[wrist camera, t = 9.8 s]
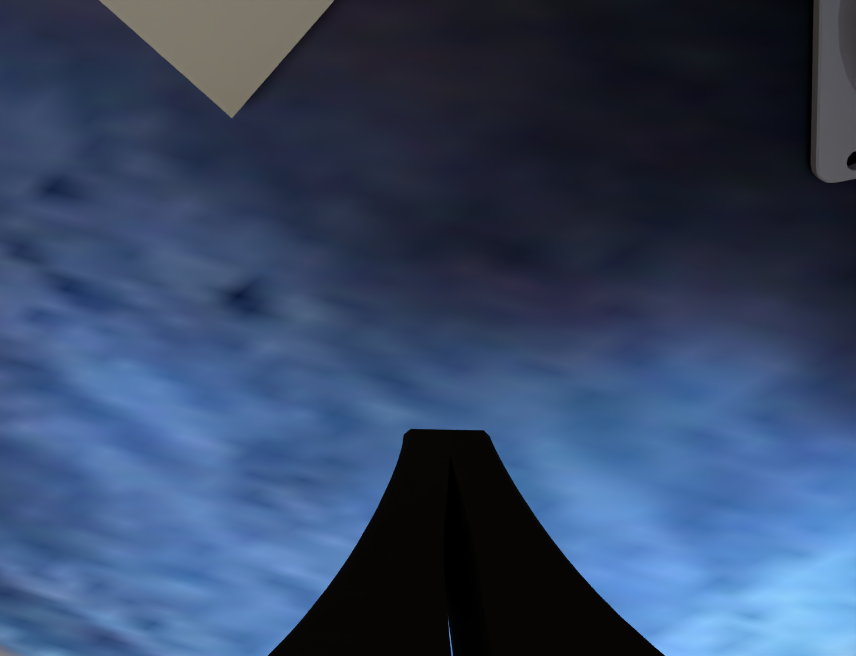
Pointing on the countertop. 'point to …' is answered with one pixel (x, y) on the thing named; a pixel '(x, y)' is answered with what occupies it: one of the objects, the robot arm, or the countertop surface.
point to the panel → (221, 39)
